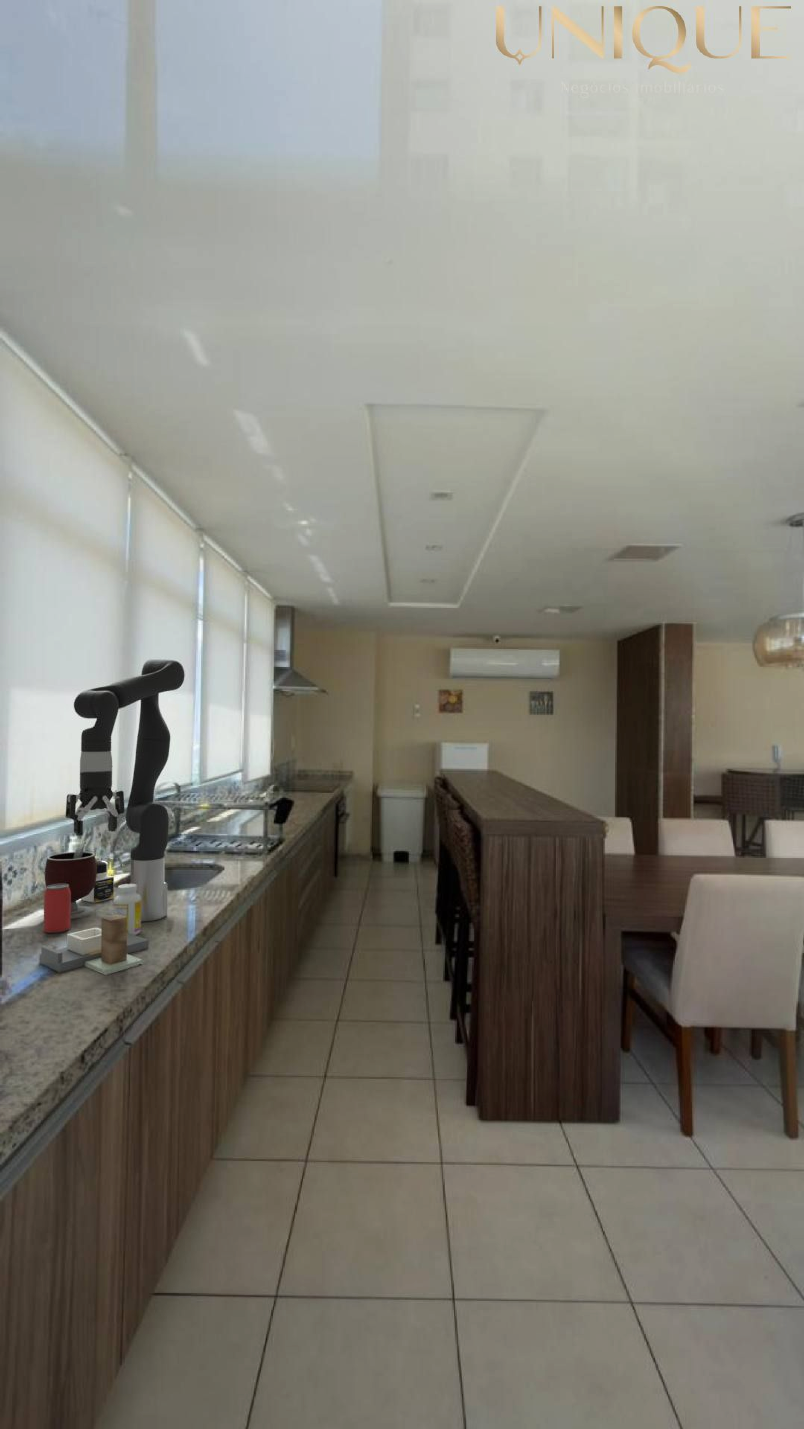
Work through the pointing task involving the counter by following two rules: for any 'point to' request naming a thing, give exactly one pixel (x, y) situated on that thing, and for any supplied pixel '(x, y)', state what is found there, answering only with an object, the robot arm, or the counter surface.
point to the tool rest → (108, 969)
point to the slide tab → (84, 941)
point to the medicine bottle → (101, 885)
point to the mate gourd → (73, 876)
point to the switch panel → (71, 960)
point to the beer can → (57, 908)
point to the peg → (114, 939)
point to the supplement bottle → (129, 907)
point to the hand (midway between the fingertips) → (95, 833)
